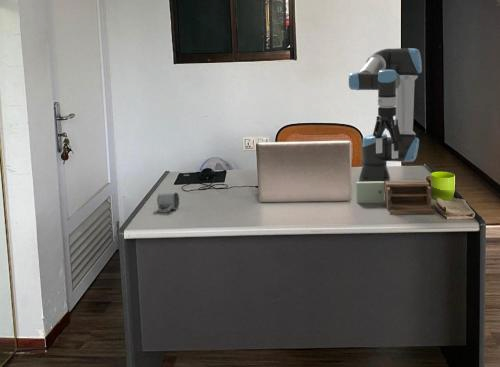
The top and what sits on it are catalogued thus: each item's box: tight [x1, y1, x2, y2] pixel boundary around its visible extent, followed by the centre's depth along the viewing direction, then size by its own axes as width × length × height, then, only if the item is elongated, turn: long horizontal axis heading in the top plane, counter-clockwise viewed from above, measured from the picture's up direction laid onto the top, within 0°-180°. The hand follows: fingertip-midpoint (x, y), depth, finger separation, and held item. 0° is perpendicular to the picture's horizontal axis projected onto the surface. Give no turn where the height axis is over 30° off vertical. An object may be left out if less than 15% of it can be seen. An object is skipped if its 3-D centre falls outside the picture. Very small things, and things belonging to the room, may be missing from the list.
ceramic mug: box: [156, 191, 180, 213], centre depth 338 cm, size 11×8×8 cm
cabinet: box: [384, 179, 435, 215], centre depth 326 cm, size 18×18×10 cm
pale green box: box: [355, 181, 385, 204], centre depth 339 cm, size 4×12×9 cm, turn 87°
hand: (386, 155), depth 332 cm, fingers open, 13 cm apart
